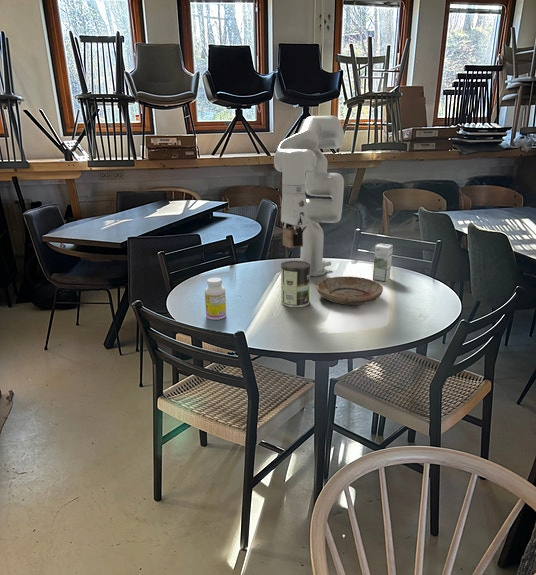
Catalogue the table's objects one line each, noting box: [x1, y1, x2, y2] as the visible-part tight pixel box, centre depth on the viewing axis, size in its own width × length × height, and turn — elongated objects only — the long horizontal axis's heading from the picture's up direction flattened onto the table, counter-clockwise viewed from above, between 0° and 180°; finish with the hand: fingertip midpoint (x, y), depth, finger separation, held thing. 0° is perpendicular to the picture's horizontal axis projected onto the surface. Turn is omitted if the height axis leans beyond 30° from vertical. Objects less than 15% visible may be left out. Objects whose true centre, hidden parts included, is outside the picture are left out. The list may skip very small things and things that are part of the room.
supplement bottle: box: [204, 277, 227, 321], centre depth 141 cm, size 7×7×13 cm
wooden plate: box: [316, 276, 384, 306], centre depth 157 cm, size 23×24×5 cm
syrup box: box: [372, 243, 394, 283], centre depth 176 cm, size 6×6×14 cm
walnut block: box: [282, 226, 303, 249], centre depth 147 cm, size 5×5×6 cm
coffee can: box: [280, 260, 311, 308], centre depth 152 cm, size 10×10×14 cm
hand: (292, 243), depth 148 cm, fingers closed on walnut block, 5 cm apart
